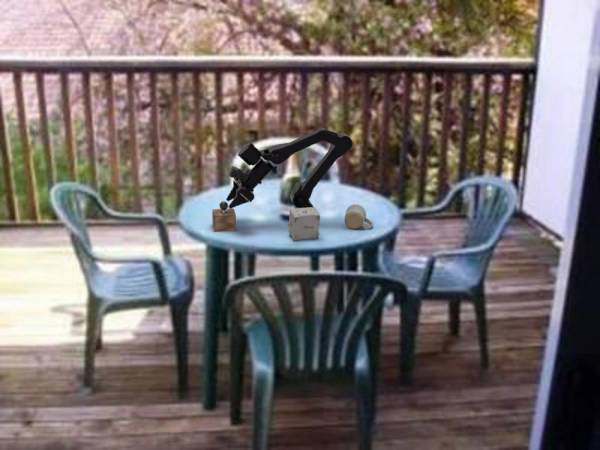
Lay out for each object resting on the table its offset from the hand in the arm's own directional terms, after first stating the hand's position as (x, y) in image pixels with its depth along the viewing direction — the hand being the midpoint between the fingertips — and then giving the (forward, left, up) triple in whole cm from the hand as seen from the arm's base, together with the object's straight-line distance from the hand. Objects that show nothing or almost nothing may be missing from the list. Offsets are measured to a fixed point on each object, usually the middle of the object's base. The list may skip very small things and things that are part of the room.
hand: (228, 204), depth 276 cm
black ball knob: (+1, +1, -8) cm, 8 cm away
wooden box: (+1, +1, -9) cm, 9 cm away
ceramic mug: (-46, -17, -9) cm, 50 cm away
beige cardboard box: (-30, +2, -9) cm, 31 cm away
